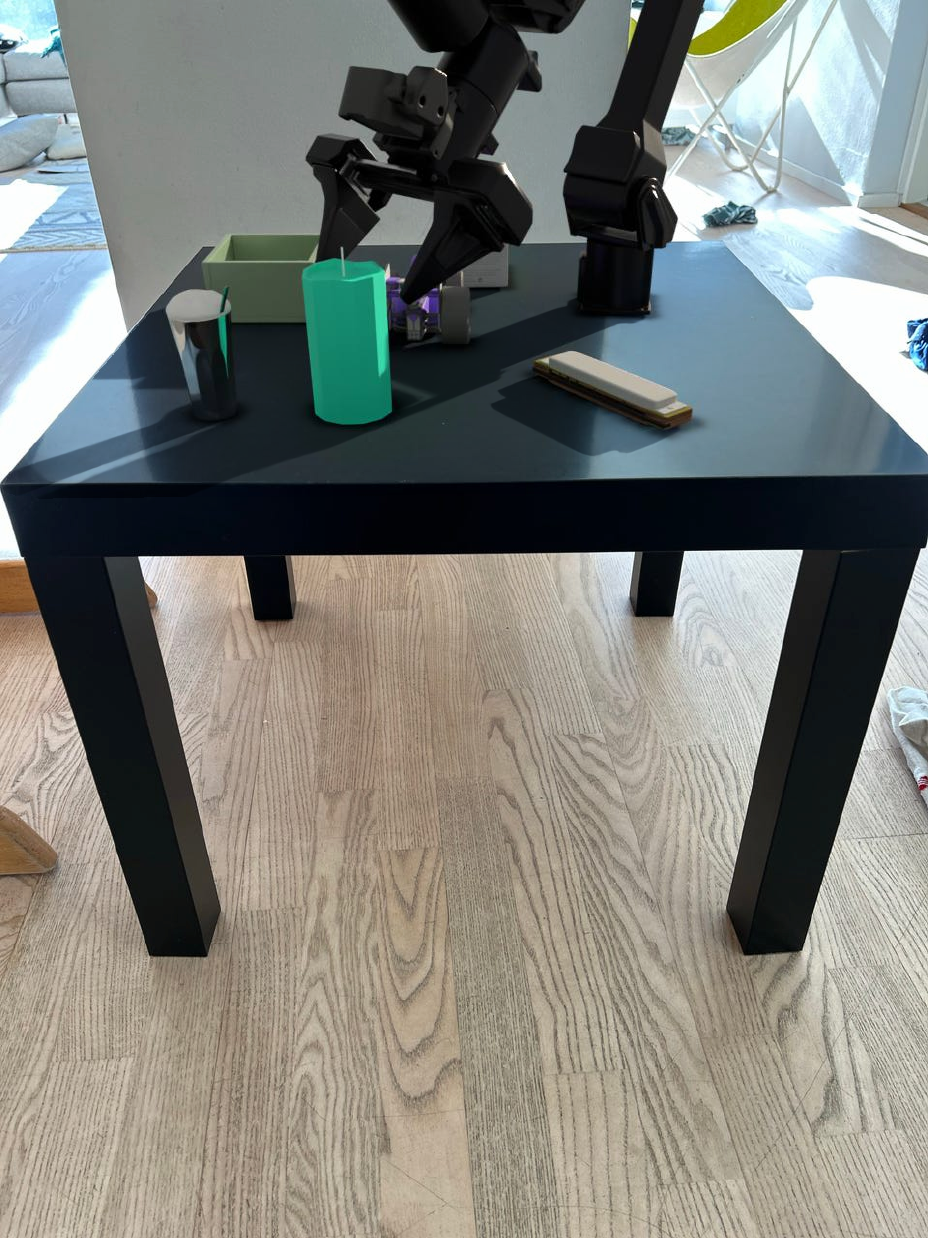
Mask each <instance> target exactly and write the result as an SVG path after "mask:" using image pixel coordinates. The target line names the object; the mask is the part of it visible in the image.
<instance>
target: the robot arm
mask: <svg viewBox="0 0 928 1238" xmlns="http://www.w3.org/2000/svg"><path fill="white" fill-rule="evenodd" d="M586 1H587V0H386V2H387V3H388V4H389V6H390V7H391V9H392V10H393V12H394V13H395V15H396V16H397V17H398V19H399V21H400V22H401V23H402V25H403V26H404V28H405V29H406V31H407V32H408V33H409V35H410V36H411V38H412V39H413V40H414V43H416V45H417V46H418V47H419V48H420V50H421V51H424V52H426V53H429V54H436V53H442V52H443V54H442V56H441V58H440V60H439V61H438V63H437V65H436V67H433V66H424V65H423V66H422V65H415V66H413V67H412V68H411V70H410V71H409V72H408V74H405V73H403V72H394V71H391V70H388V69H383V68H374V67H367V66H357V65H350V66H349V67H348V70H347V73H346V74H347V75H346V78H345V83H344V87H343V92H342V96H341V98H340V99H341V100H340V104H339V107H338V112H337V116H338V117H339V118H341V119H342V120H344V121H346V122H347V121H348V122H349V121H353V122H354V123H357V124H359V125H361V126H363V127H365V128H366V129H369V130H370V131H373V132H375V133H374V135H373V136H372V139H371V141H372V142H373V143H374V144H375V146H376V147H377V149H378V150H380V151H381V152H384V153H386V155H387V156H388V158H387V159H386V162H382V161H380V160H378V158H377V157H376V156H375V154H374V153H373V152H372V151H371V150H370V148H368V147H367V145H366V144H365V142H363V140H362V139H361V138H360V137H355V136H348V135H344V134H337V133H331V132H330V133H323V134H318V135H317V136H316V137H315V139H314V141H313V142H312V144H311V146H310V148H309V149H308V152H307V153H306V155H305V162H306V163H307V164H308V165H309V166H310V167H311V168H312V175H313V177H314V178H315V179H316V181H318V183H320V187H321V191H322V193H323V211H322V219H321V226H320V232H319V234H320V237H319V243H318V248H317V254H316V260H315V263H318V262H322V261H326V260H330V259H333V258H336V259H341V260H342V257H341V247H343V256H344V260H347V258H348V257H349V256H350V254H351V253H352V252H353V251H354V250H355V249H356V248H357V247H358V245H359V244H360V243H361V242H362V241H363V240H364V239H365V238H366V237H367V236H368V234H369V233H370V232H371V231H372V230H373V229H374V228H375V227H376V226H377V224H378V223H379V222H380V221H381V217H380V216H379V215H378V214H377V212H379V211H381V210H382V209H383V208H385V207H387V205H388V203H389V202H390V201H391V198H392V197H393V195H397V196H401V197H406V198H410V199H416V200H418V201H419V200H420V201H424V202H428V203H433V211H432V213H433V214H432V223H431V226H430V228H429V229H428V232H427V234H426V236H425V238H424V240H423V242H422V244H421V245H420V247H419V249H418V251H417V253H416V254H417V255H416V254H415V255H416V257H415V259H414V261H413V263H412V265H411V264H410V268H408V270H409V271H408V270H407V271H408V273H407V272H406V274H405V277H404V278H405V280H404V283H403V284H401V287H402V288H401V290H400V293H399V298H400V299H401V300H402V301H403V302H404V303H405V304H407V305H411V304H412V303H414V302H415V301H417V300H418V299H419V298H421V297H422V296H424V295H425V294H427V293H428V292H430V291H431V290H432V289H436V288H435V287H438V285H440V284H441V283H443V284H444V282H446V280H447V279H448V278H450V277H452V276H453V275H454V274H456V273H457V272H459V271H461V270H462V269H464V268H466V267H467V266H469V265H471V264H473V263H474V262H476V261H478V260H479V259H481V258H483V257H484V256H486V255H488V254H490V253H491V252H498V253H499V252H501V251H502V250H503V249H504V247H505V245H504V243H506V244H508V245H510V246H515V247H520V246H521V245H522V243H523V241H524V239H525V238H526V236H527V234H528V233H529V231H530V229H531V227H532V226H533V224H534V223H533V222H534V209H533V204H532V202H531V201H530V199H529V198H528V197H527V195H526V194H525V192H524V190H523V189H522V188H521V186H520V184H519V183H518V182H517V181H516V179H515V178H514V176H513V175H512V173H511V172H510V171H509V169H508V167H507V168H506V166H505V165H504V163H499V162H500V161H492V160H486V159H481V158H480V155H486V156H494V155H495V153H496V151H497V149H498V148H499V146H500V142H499V141H498V139H497V138H496V137H495V135H494V134H493V132H494V130H495V128H496V127H497V125H498V123H499V121H500V119H501V117H502V116H503V114H504V112H505V110H506V108H507V107H508V105H509V104H510V102H511V100H512V98H513V96H514V94H515V92H516V91H522V92H530V93H541V91H542V90H543V75H542V72H541V69H540V66H539V52H538V51H537V50H534V49H533V50H530V49H528V47H527V46H526V44H525V42H524V41H523V38H522V37H521V35H520V34H519V32H520V33H533V34H547V35H559V34H562V33H563V32H565V30H567V29H568V28H569V27H570V26H571V25H572V23H573V22H574V21H575V19H576V17H577V15H578V14H579V12H580V10H581V9H582V8H583V6H584V4H585V3H586ZM705 2H706V0H643V4H642V6H641V8H640V12H639V15H638V18H637V21H636V24H635V28H634V31H633V34H632V36H631V39H630V43H629V47H628V48H627V52H626V56H625V58H624V62H623V64H622V69H621V71H620V74H619V78H618V80H617V83H616V86H615V89H614V93H613V96H612V99H611V101H610V105H609V108H608V110H607V113H606V114H605V115H604V116H603V117H602V118H601V120H599V121H598V123H596V124H595V125H588V124H582V125H580V127H579V129H578V130H577V131H576V134H575V137H574V141H573V146H572V149H571V153H570V156H569V159H568V161H567V163H566V164H565V166H564V167H563V170H562V172H563V173H564V174H565V177H564V179H563V180H564V181H563V186H562V198H563V203H564V208H565V214H566V219H567V225H568V229H569V230H568V231H569V235H570V236H572V237H581V238H586V245H585V249H584V250H583V249H582V250H580V252H579V256H578V271H577V273H578V274H577V289H576V291H577V292H576V294H577V295H576V301H577V302H578V303H581V308H580V312H581V313H583V314H593V315H623V316H625V315H627V316H630V315H631V316H649V315H651V313H652V307H651V289H652V281H653V270H654V269H653V268H654V259H655V250H659V249H661V250H663V249H666V248H667V244H669V243H671V242H672V241H673V239H674V235H675V232H676V228H677V226H678V221H679V217H678V214H677V213H676V210H675V209H674V207H673V205H672V204H671V202H670V200H669V198H668V196H667V194H666V192H665V190H664V189H663V187H664V184H665V180H666V175H667V172H668V171H667V170H668V163H667V158H666V153H665V147H664V143H663V142H664V141H663V136H662V131H663V127H664V124H665V121H666V118H667V115H668V112H669V110H670V106H671V103H672V100H673V97H674V94H675V92H676V89H677V85H678V82H679V80H680V76H681V73H682V70H683V67H684V65H685V61H686V58H687V56H688V53H689V50H690V46H691V44H692V40H693V38H694V35H695V32H696V29H697V26H698V23H699V21H700V17H701V14H702V11H703V9H704V5H705Z"/></svg>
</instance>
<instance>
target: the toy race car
mask: <svg viewBox="0 0 928 1238" xmlns="http://www.w3.org/2000/svg"><path fill="white" fill-rule="evenodd" d="M416 255H417V253H415V254H414V255H413V256H412V258H411V261H410V266H411V265H412V263H413V261H414V259H415V257H416ZM384 270H385V283H386V303H387V322H388V341H389V340H390V334H391V330H392V329H393V331H394V332H395V333H406V340H407V341H422V340H423V338H424V336H425V334H426V333H440V334H441V335H440V337H441V341H442V344H443V345H468V344H469V343H470V338H471V290H470V287H465V286H464V279H463V272H462V271H459V272H457V273H456V274H454V275H453V276H452V277H450V278H448V279H447V280H446V281H445V284H444V282H443V283H441V284H440V285H438V286H437V287H435V288H434V289H432V290H431V291H430V292H428V293H427V294H425V295H424V296H422V297H421V298H419V299H418V300H417V301H415V302H414V303H412V304H411V305H407V304H405V303H404V302H403V301H402V300H401V299H400V298H399V293H400V290H401V288H402V285H403V283H404V280H405V278H406V277H404V278H401V277H400V275H399V271H398V270H396V269H395V270H393V269H392V270H391V267H390V263H389V262H387V263H386V264H385V267H384ZM408 271H409V269H407V271H406V274H407V273H408ZM443 285H444V286H443Z"/></svg>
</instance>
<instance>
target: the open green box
mask: <svg viewBox="0 0 928 1238" xmlns="http://www.w3.org/2000/svg"><path fill="white" fill-rule="evenodd" d="M319 237H320V233H226V234H225V235H224V236H223V238H221V240H220V241H219V242H218V243H217V244H216V245H215V247H214V248H212V250H211V251H210V252H209V254H208V255H207V256H206V257H205V258H204V259H203V260H202V262H201V268H202V275H203V281H204V287H205V290H213V291H215V292H217V293H219V294H221V295H223V291H224V287H227V286H229V288H228V294H227V300H228V301H229V302H230V304H231V319H232V323H269V324H271V323H275V324H276V323H279V324H280V323H285V324H286V323H287V324H289V323H294V324H295V323H297V324H298V323H301V324H302V323H304V324H305V323H306V314H305V304H304V294H303V284H302V274H303V269H305V268H307V267H309V266H311V265H313V264H315V260H316V254H317V248H318V243H319Z"/></svg>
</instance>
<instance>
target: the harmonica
mask: <svg viewBox="0 0 928 1238" xmlns="http://www.w3.org/2000/svg"><path fill="white" fill-rule="evenodd" d="M531 370H532V372H534V373H535V374H536V375H538V376H540V377H543V378H545V379H547V380H548V381H549V383H552V384H553V385H555V386H556V387H559V388H561V389H564V390H566V391H568V392H570V393H573V394H576V395H578V396H579V397H582V398H584V399H586V400H588V401H590V402H593V403H595V404H597V405H600V406H602V407H604V408H606V409H608V410H611V411H613V412H614V413H617V414H620V415H622V416H624V417H627V418H629V419H630V420H633V421H636V422H638V423H640V424H642V425H645V426H649V425H650V426H652V427H654V428H657V429H660V430H663V431H667V430H669V429H672V428H675V427H677V426H681V425H683V424H686V423H688V422H691V421H692V418H693V411H694V408H693V407H691V406H690V405H687V404H685V403H683V402H680V401H679V400H678V401H677V399H678V393H677V392H675V391H674V390H672V389H670V388H668V387H665V386H663V385H661V384H658V383H656V382H653V381H651V380H649V379H646V378H644V377H641V376H639V375H636V374H633V373H632V372H629V371H626V370H623V369H621V368H619V367H617V366H615V365H614V366H613V365H612V364H609V363H607V362H604V361H601V360H599V359H597V358H594V357H591V356H589V355H586V354H584V353H581V352H578V351H575V350H568V351H565V352H561V353H556V354H552V355H549V356H546V357H542V358H539V359H535V360H534V361H533V366H532V367H531Z"/></svg>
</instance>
